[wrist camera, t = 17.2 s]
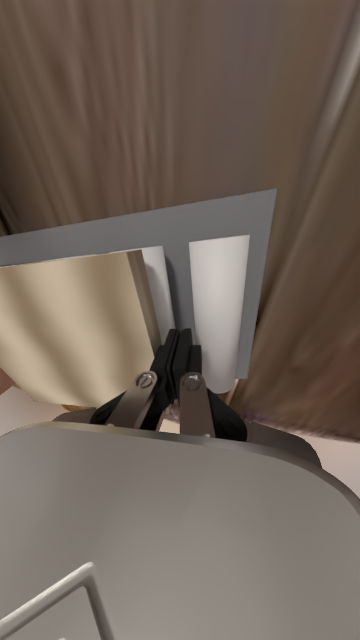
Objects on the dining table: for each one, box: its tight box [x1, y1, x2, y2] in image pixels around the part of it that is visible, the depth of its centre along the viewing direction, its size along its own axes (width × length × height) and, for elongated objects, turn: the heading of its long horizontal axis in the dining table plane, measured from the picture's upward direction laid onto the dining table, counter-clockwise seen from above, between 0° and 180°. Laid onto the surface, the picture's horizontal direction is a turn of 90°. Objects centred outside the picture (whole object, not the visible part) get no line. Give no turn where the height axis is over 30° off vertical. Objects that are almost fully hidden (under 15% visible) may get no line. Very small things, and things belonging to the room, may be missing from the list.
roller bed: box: [0, 188, 277, 395], centre depth 15 cm, size 38×19×9 cm, turn 96°
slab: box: [0, 249, 171, 414], centre depth 13 cm, size 16×14×2 cm
